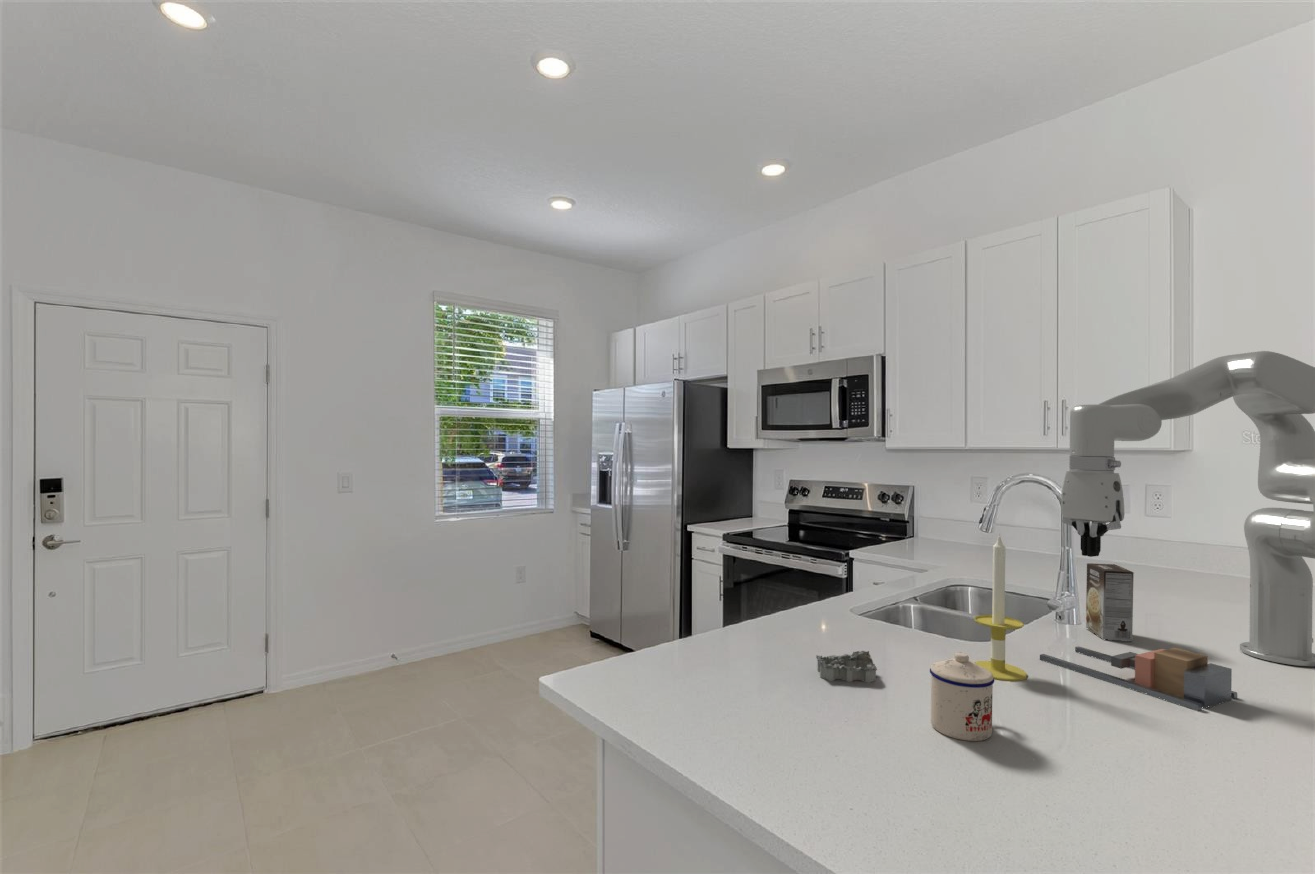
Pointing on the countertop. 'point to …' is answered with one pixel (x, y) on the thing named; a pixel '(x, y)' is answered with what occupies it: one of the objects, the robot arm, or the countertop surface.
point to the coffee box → (1109, 601)
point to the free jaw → (1138, 665)
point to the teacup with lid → (961, 699)
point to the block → (1174, 669)
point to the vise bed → (1199, 691)
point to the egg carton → (847, 667)
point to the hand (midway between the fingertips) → (1090, 555)
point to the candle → (999, 623)
